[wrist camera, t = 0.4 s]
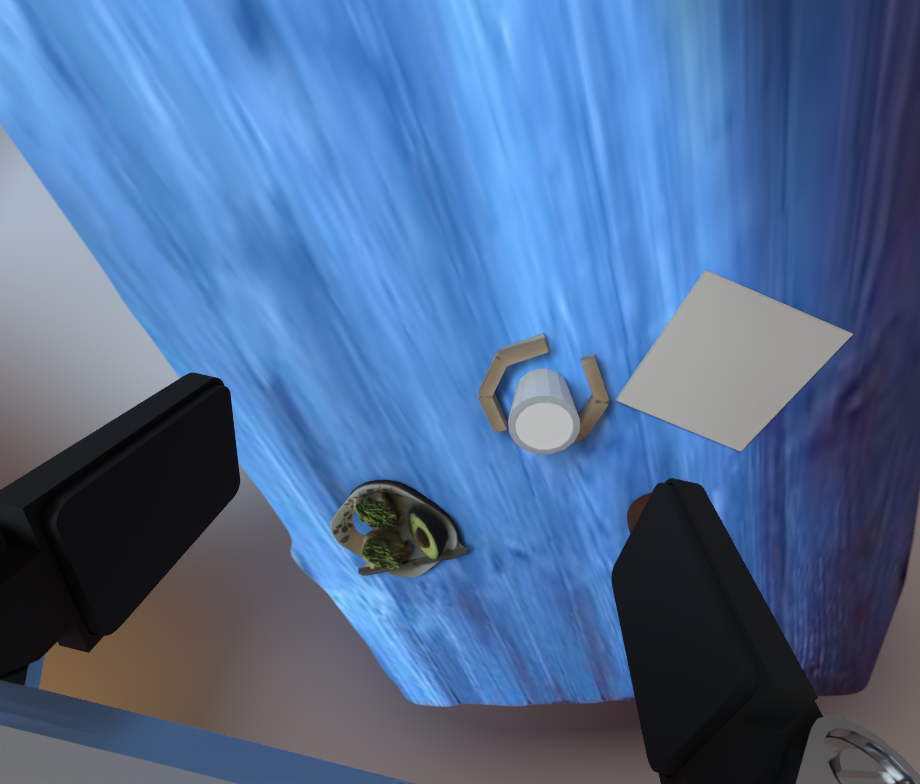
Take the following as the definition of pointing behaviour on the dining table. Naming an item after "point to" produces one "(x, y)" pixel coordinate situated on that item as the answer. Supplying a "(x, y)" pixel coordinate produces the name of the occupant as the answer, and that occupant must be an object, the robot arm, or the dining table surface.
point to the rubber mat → (729, 361)
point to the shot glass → (543, 413)
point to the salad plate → (396, 529)
